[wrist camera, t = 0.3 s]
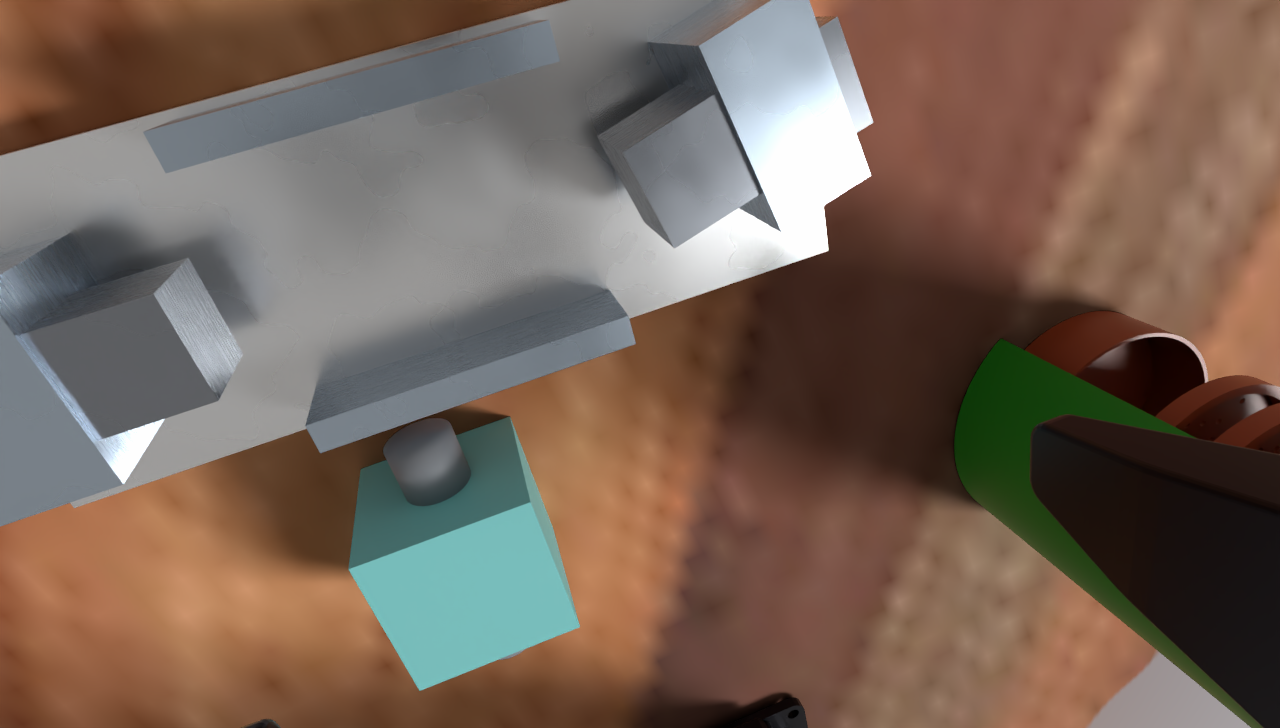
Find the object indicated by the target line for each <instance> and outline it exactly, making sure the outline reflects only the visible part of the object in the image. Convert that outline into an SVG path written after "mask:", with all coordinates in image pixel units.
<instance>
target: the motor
mask: <svg viewBox="0 0 1280 728" xmlns="http://www.w3.org/2000/svg"><path fill="white" fill-rule="evenodd" d="M1066 414H1070V415H1076V416H1082V417H1087V418H1092V419H1097V420H1103V421H1108V422H1113V423H1118V424H1123V425H1129V426H1134V427H1139V428H1144V429H1150V430H1155V431H1160V432H1165V433H1171V434H1176V435H1181V436H1186V437H1191V438H1197V439H1202V440H1207V441H1212V442H1218V443H1223V444H1228V445H1233V446H1239V447H1244V448H1249V449H1254V450H1260V451H1265V452H1270V453H1275V454H1280V388H1279V387H1277V386H1275V385H1272V384H1270V383H1267V382H1265V381H1262V380H1260V379H1257V378H1254V377H1250V376H1242V375H1235V376H1227V377H1222V378H1218V379H1215V380H1212V381H1209V382H1208V374H1207V369H1206V365H1205V362H1204V359H1203V357H1202V355H1201V354H1200V352H1199V351H1198V349H1197V348H1196V347H1195V346H1194V345H1193V344H1192V343H1190V342H1189V341H1188V340H1186V339H1184V338H1182V337H1180V336H1177V335H1175V334H1172V333H1170V332H1167V331H1165V330H1162V329H1159V328H1157V327H1154V326H1152V325H1149V324H1147V323H1144V322H1141V321H1139V320H1136V319H1134V318H1131V317H1129V316H1126V315H1123V314H1120V313H1117V312H1111V311H1094V312H1088V313H1084V314H1080V315H1077V316H1074V317H1072V318H1069V319H1067V320H1065V321H1063V322H1061V323H1059V324H1057V325H1055V326H1054V327H1052V328H1051V329H1049V330H1047V331H1046V332H1045V333H1043V334H1042V335H1041V336H1039V337H1038V338H1037V339H1036V340H1034V341H1033V342H1032V343H1031V344H1030V345H1029V346H1028V347H1027V348H1026V349H1025V350H1023V349H1021V348H1019V347H1017V346H1015V345H1013V344H1011V343H1009V342H1007V341H1005V340H1003V339H1000V340H999V341H998V342H997V343H996V345H995V346H994V347H993V348H992V350H991V351H990V352H989V354H988V355H987V357H986V358H985V359H984V361H983V362H982V364H981V366H980V367H979V369H978V370H977V372H976V374H975V376H974V378H973V379H972V381H971V384H970V386H969V388H968V390H967V392H966V395H965V397H964V400H963V402H962V405H961V408H960V412H959V415H958V420H957V424H956V431H955V440H954V452H955V462H956V467H957V471H958V474H959V477H960V479H961V481H962V483H963V485H964V487H965V489H966V490H967V492H968V493H969V494H970V495H971V496H972V498H973V499H975V500H976V501H977V502H978V503H979V504H980V505H981V506H983V507H984V508H985V509H986V510H988V511H989V512H990V513H991V514H992V515H994V516H995V517H996V518H997V519H998V520H1000V521H1001V522H1002V523H1003V524H1005V525H1006V526H1007V527H1008V528H1009V529H1011V530H1012V531H1013V532H1014V533H1015V534H1017V535H1018V536H1019V537H1020V538H1022V539H1023V540H1024V541H1025V542H1026V543H1028V544H1029V545H1030V546H1031V547H1032V548H1034V549H1035V550H1036V551H1037V552H1039V553H1040V554H1041V555H1042V556H1043V557H1045V558H1046V559H1047V560H1048V561H1049V562H1051V563H1052V564H1053V565H1054V566H1056V567H1057V568H1058V569H1059V570H1060V571H1062V572H1063V573H1064V574H1065V575H1066V576H1068V577H1069V578H1070V579H1071V580H1073V581H1074V582H1075V583H1076V584H1077V585H1079V586H1080V587H1081V588H1082V589H1083V590H1085V591H1086V592H1087V593H1088V594H1090V595H1091V596H1092V597H1093V598H1094V599H1096V600H1097V601H1098V602H1099V603H1100V604H1102V605H1103V606H1104V607H1105V608H1107V609H1108V610H1109V611H1110V612H1111V613H1113V614H1114V615H1115V616H1116V617H1118V618H1119V619H1120V620H1121V621H1122V622H1124V623H1125V624H1126V625H1127V626H1128V627H1130V628H1131V629H1132V630H1133V631H1135V632H1136V633H1137V634H1138V635H1139V636H1141V637H1142V638H1143V639H1144V640H1145V641H1147V642H1148V643H1149V644H1150V645H1152V646H1153V647H1154V648H1155V649H1156V650H1158V651H1159V652H1160V653H1161V654H1163V655H1164V656H1165V657H1166V658H1167V659H1169V660H1170V661H1171V662H1172V663H1173V664H1175V665H1176V666H1177V667H1178V668H1179V669H1181V670H1182V671H1183V672H1184V673H1186V674H1187V675H1188V676H1189V677H1190V678H1192V679H1193V680H1194V681H1195V682H1197V683H1198V684H1199V685H1200V686H1201V687H1203V688H1204V689H1205V690H1206V691H1207V692H1209V693H1210V694H1211V695H1212V696H1213V697H1215V698H1216V699H1217V700H1218V701H1220V702H1221V703H1222V704H1223V705H1224V706H1226V707H1227V708H1228V709H1229V710H1230V711H1232V712H1233V713H1234V714H1235V715H1237V716H1238V717H1239V718H1240V719H1241V720H1243V721H1244V722H1245V723H1246V724H1247V725H1249V726H1250V727H1251V728H1263V727H1262V726H1261V725H1260V724H1258V723H1257V722H1256V721H1255V720H1254V719H1253V718H1252V717H1251V716H1250V715H1249V714H1248V713H1247V712H1246V711H1245V710H1244V709H1243V708H1241V707H1240V706H1239V705H1238V704H1237V703H1236V702H1235V701H1234V700H1233V699H1232V698H1231V697H1230V696H1229V695H1228V694H1227V693H1226V692H1224V691H1223V690H1222V689H1221V688H1220V687H1219V686H1218V685H1217V684H1216V683H1215V682H1214V681H1213V680H1212V679H1211V678H1210V677H1209V676H1207V675H1206V674H1205V673H1204V672H1203V671H1202V670H1201V669H1200V668H1199V667H1198V666H1197V665H1196V664H1195V663H1194V662H1193V661H1192V660H1190V659H1189V658H1188V657H1187V656H1186V655H1185V654H1184V653H1183V652H1182V651H1181V650H1180V649H1179V648H1178V647H1177V646H1176V645H1175V644H1173V643H1172V642H1171V641H1170V640H1169V639H1168V638H1167V637H1166V636H1165V635H1164V634H1163V633H1162V632H1161V631H1160V630H1159V629H1157V628H1156V627H1155V626H1154V625H1153V624H1152V623H1151V622H1150V621H1149V620H1148V619H1147V618H1146V617H1145V616H1144V615H1143V614H1142V613H1141V612H1140V611H1139V610H1138V609H1137V608H1136V607H1135V606H1134V605H1133V604H1132V603H1131V602H1130V601H1128V600H1127V598H1126V597H1125V596H1124V595H1123V594H1122V593H1121V592H1120V591H1119V590H1118V589H1117V588H1116V587H1115V586H1114V585H1113V583H1112V582H1111V581H1110V580H1109V579H1108V578H1107V577H1106V576H1105V575H1104V573H1103V572H1102V571H1101V570H1100V569H1099V568H1098V567H1097V565H1096V564H1095V563H1094V562H1093V561H1092V560H1091V559H1090V558H1089V556H1088V555H1087V554H1086V553H1085V552H1084V551H1083V550H1082V548H1081V547H1080V546H1079V545H1078V544H1077V543H1076V542H1075V541H1074V539H1073V538H1072V537H1071V536H1070V535H1069V534H1068V533H1067V532H1066V530H1065V529H1064V528H1063V527H1062V526H1061V525H1060V524H1059V522H1058V521H1057V520H1056V519H1055V518H1054V517H1053V516H1052V515H1051V513H1050V512H1049V511H1048V510H1047V509H1046V508H1045V507H1044V505H1043V504H1042V503H1041V502H1040V501H1039V500H1038V498H1037V497H1036V495H1035V493H1034V492H1033V489H1032V487H1031V483H1030V440H1031V432H1032V430H1033V429H1034V427H1035V426H1036V425H1037V424H1039V423H1042V422H1044V421H1047V420H1050V419H1052V418H1055V417H1058V416H1060V415H1066Z"/></svg>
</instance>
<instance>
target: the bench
mask: <svg viewBox="0 0 1280 728" xmlns="http://www.w3.org/2000/svg"><path fill="white" fill-rule="evenodd" d="M872 123H873V120H872V117H871V114H870V111H869V108H868V105H867V102H866V99H865V96H864V93H863V91H862V88H861V85H860V82H859V79H858V76H857V73H856V70H855V67H854V64H853V61H852V58H851V55H850V52H849V49H848V46H847V43H846V40H845V37H844V34H843V31H842V28H841V25H840V23H839V20H838V17H837V16H836V17H815V15H814V13H813V10H812V7H811V4H810V1H809V0H566V1H562V2H559V3H555V4H551V5H548V6H544V7H540V8H537V9H533V10H529V11H526V12H522V13H518V14H515V15H511V16H507V17H504V18H500V19H496V20H493V21H489V22H485V23H482V24H478V25H474V26H471V27H467V28H463V29H460V30H456V31H452V32H449V33H445V34H441V35H438V36H434V37H430V38H427V39H423V40H419V41H416V42H412V43H408V44H405V45H401V46H397V47H394V48H390V49H386V50H383V51H379V52H375V53H372V54H368V55H364V56H361V57H357V58H353V59H350V60H346V61H342V62H339V63H335V64H331V65H328V66H324V67H320V68H317V69H313V70H309V71H306V72H302V73H298V74H295V75H291V76H287V77H284V78H280V79H276V80H273V81H269V82H265V83H262V84H258V85H255V86H251V87H247V88H244V89H240V90H236V91H233V92H229V93H225V94H222V95H218V96H214V97H211V98H207V99H203V100H200V101H196V102H192V103H189V104H185V105H181V106H178V107H174V108H170V109H167V110H163V111H159V112H156V113H152V114H148V115H145V116H141V117H137V118H134V119H130V120H126V121H123V122H119V123H115V124H112V125H108V126H104V127H101V128H97V129H93V130H90V131H86V132H82V133H79V134H75V135H71V136H68V137H64V138H60V139H57V140H53V141H49V142H46V143H42V144H38V145H35V146H31V147H27V148H24V149H20V150H16V151H13V152H9V153H5V154H2V155H0V526H3V525H6V524H9V523H12V522H15V521H18V520H21V519H23V518H26V517H29V516H32V515H35V514H38V513H41V512H44V511H47V510H50V509H53V508H56V507H59V506H62V505H65V504H68V503H71V505H72V506H73V507H74V508H76V507H79V506H82V505H84V504H87V503H90V502H93V501H96V500H99V499H102V498H105V497H108V496H111V495H114V494H117V493H120V492H123V491H126V490H128V489H131V488H134V487H137V486H140V485H143V484H146V483H149V482H152V481H155V480H158V479H161V478H164V477H167V476H169V475H172V474H175V473H178V472H181V471H184V470H187V469H190V468H193V467H196V466H199V465H202V464H205V463H208V462H211V461H213V460H216V459H219V458H222V457H225V456H228V455H231V454H234V453H237V452H240V451H243V450H246V449H249V448H252V447H255V446H257V445H260V444H263V443H266V442H269V441H272V440H275V439H278V438H281V437H284V436H287V435H290V434H293V433H296V432H298V431H301V430H304V429H307V430H308V432H309V434H310V436H311V437H312V439H313V441H314V443H315V445H316V446H317V448H318V450H319V452H320V453H323V452H326V451H328V450H331V449H334V448H337V447H340V446H343V445H346V444H349V443H352V442H354V441H357V440H360V439H363V438H366V437H369V436H372V435H375V434H378V433H380V432H383V431H386V430H389V429H392V428H395V427H398V426H401V425H403V424H406V423H409V422H412V421H415V420H418V419H421V418H424V417H427V416H429V415H432V414H435V413H438V412H441V411H444V410H447V409H450V408H452V407H455V406H458V405H461V404H464V403H467V402H470V401H473V400H476V399H478V398H481V397H484V396H487V395H490V394H493V393H496V392H499V391H502V390H504V389H507V388H510V387H513V386H516V385H519V384H522V383H525V382H527V381H530V380H533V379H536V378H539V377H542V376H545V375H548V374H551V373H553V372H556V371H559V370H562V369H565V368H568V367H571V366H574V365H576V364H579V363H582V362H585V361H588V360H591V359H594V358H597V357H600V356H602V355H605V354H608V353H611V352H614V351H617V350H620V349H623V348H626V347H628V346H631V345H634V344H636V342H635V339H634V335H633V331H632V327H631V324H630V320H629V319H630V318H633V317H636V316H638V315H641V314H644V313H647V312H650V311H653V310H656V309H659V308H662V307H665V306H668V305H671V304H674V303H677V302H680V301H682V300H685V299H688V298H691V297H694V296H697V295H700V294H703V293H706V292H709V291H712V290H715V289H718V288H721V287H724V286H726V285H729V284H732V283H735V282H738V281H741V280H744V279H747V278H750V277H753V276H756V275H759V274H762V273H765V272H767V271H770V270H773V269H776V268H779V267H782V266H785V265H788V264H791V263H794V262H797V261H800V260H803V259H806V258H809V257H811V256H814V255H817V254H820V253H823V252H826V251H829V249H828V240H827V231H826V223H825V214H824V205H825V204H827V203H828V202H830V201H832V200H833V199H835V198H836V197H838V196H839V195H841V194H843V193H844V192H846V191H847V190H849V189H850V188H852V187H854V186H855V185H857V184H858V183H860V182H861V181H863V180H865V179H866V178H868V177H869V176H871V174H870V171H869V168H868V165H867V162H866V160H865V157H864V154H863V151H862V148H861V145H860V143H859V140H858V137H857V134H856V133H857V132H859V131H860V130H862V129H864V128H865V127H867V126H868V125H870V124H872Z"/></svg>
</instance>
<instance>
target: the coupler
mask: <svg viewBox="0 0 1280 728" xmlns="http://www.w3.org/2000/svg"><path fill="white" fill-rule="evenodd" d="M383 453H384V456H385V458H386V460H385V461H382V462H379V463H376V464H373V465H371V466H368V467H365V468H362V469H361V471H360V479H359V487H358V495H357V504H356V512H355V520H354V528H353V537H352V545H351V553H350V561H349V571H350V573H351V575H352V576H353V578H354V580H355V581H356V583H357V585H358V587H359V588H360V590H361V592H362V593H363V595H364V597H365V599H366V600H367V602H368V604H369V605H370V607H371V609H372V610H373V612H374V614H375V616H376V617H377V619H378V621H379V622H380V624H381V626H382V628H383V629H384V631H385V633H386V634H387V636H388V638H389V639H390V641H391V643H392V645H393V646H394V648H395V650H396V651H397V653H398V655H399V657H400V658H401V660H402V662H403V663H404V665H405V667H406V669H407V670H408V672H409V674H410V675H411V677H412V679H413V680H414V682H415V684H416V686H417V687H418V689H419V691H421V690H423V689H426V688H428V687H431V686H433V685H436V684H438V683H441V682H443V681H446V680H448V679H451V678H453V677H456V676H458V675H461V674H463V673H466V672H468V671H471V670H473V669H476V668H478V667H481V666H483V665H486V664H488V663H491V662H493V661H496V660H502V659H508V658H511V657H514V656H516V655H518V654H519V653H521V652H522V651H524V650H525V649H526V648H529V647H531V646H534V645H536V644H539V643H541V642H544V641H546V640H549V639H551V638H554V637H556V636H559V635H561V634H564V633H566V632H569V631H571V630H574V629H576V628H579V627H580V625H579V621H578V618H577V614H576V610H575V607H574V603H573V600H572V596H571V592H570V589H569V585H568V581H567V578H566V574H565V570H564V567H563V563H562V559H561V556H560V552H559V548H558V545H557V541H556V537H555V534H554V530H553V527H552V524H551V522H550V519H549V517H548V514H547V511H546V509H545V506H544V504H543V501H542V498H541V496H540V493H539V491H538V488H537V485H536V483H535V480H534V478H533V475H532V472H531V470H530V467H529V465H528V462H527V459H526V457H525V454H524V452H523V449H522V446H521V444H520V441H519V439H518V436H517V433H516V431H515V428H514V426H513V423H512V420H511V418H510V417H507V418H504V419H501V420H498V421H495V422H492V423H490V424H487V425H484V426H481V427H478V428H475V429H473V430H470V431H467V432H464V433H461V434H458V435H455V433H454V430H453V428H452V426H451V424H450V422H449V421H448V420H446V419H442V418H429V419H424V420H421V421H417V422H415V423H412V424H410V425H408V426H406V427H404V428H402V429H401V430H399V431H398V432H396V433H395V434H394V435H393V436H392V437H391V438H390V439H389V440H388V441H387V442H386V444H385V446H384V448H383Z"/></svg>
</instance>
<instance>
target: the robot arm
mask: <svg viewBox="0 0 1280 728" xmlns="http://www.w3.org/2000/svg"><path fill="white" fill-rule="evenodd" d="M1030 483H1031V487H1032V489H1033V492H1034V493H1035V495H1036V497H1037V498H1038V500H1039V501H1040V502H1041V503H1042V504H1043V505H1044V507H1045V508H1046V509H1047V510H1048V511H1049V512H1050V513H1051V515H1052V516H1053V517H1054V518H1055V519H1056V520H1057V521H1058V522H1059V524H1060V525H1061V526H1062V527H1063V528H1064V529H1065V530H1066V532H1067V533H1068V534H1069V535H1070V536H1071V537H1072V538H1073V539H1074V541H1075V542H1076V543H1077V544H1078V545H1079V546H1080V547H1081V548H1082V550H1083V551H1084V552H1085V553H1086V554H1087V555H1088V556H1089V558H1090V559H1091V560H1092V561H1093V562H1094V563H1095V564H1096V565H1097V567H1098V568H1099V569H1100V570H1101V571H1102V572H1103V573H1104V575H1105V576H1106V577H1107V578H1108V579H1109V580H1110V581H1111V582H1112V583H1113V585H1114V586H1115V587H1116V588H1117V589H1118V590H1119V591H1120V592H1121V593H1122V594H1123V595H1124V596H1125V597H1126V598H1127V600H1128V601H1130V602H1131V603H1132V604H1133V605H1134V606H1135V607H1136V608H1137V609H1138V610H1139V611H1140V612H1141V613H1142V614H1143V615H1144V616H1145V617H1146V618H1147V619H1148V620H1149V621H1150V622H1151V623H1152V624H1153V625H1154V626H1155V627H1156V628H1157V629H1159V630H1160V631H1161V632H1162V633H1163V634H1164V635H1165V636H1166V637H1167V638H1168V639H1169V640H1170V641H1171V642H1172V643H1173V644H1175V645H1176V646H1177V647H1178V648H1179V649H1180V650H1181V651H1182V652H1183V653H1184V654H1185V655H1186V656H1187V657H1188V658H1189V659H1190V660H1192V661H1193V662H1194V663H1195V664H1196V665H1197V666H1198V667H1199V668H1200V669H1201V670H1202V671H1203V672H1204V673H1205V674H1206V675H1207V676H1209V677H1210V678H1211V679H1212V680H1213V681H1214V682H1215V683H1216V684H1217V685H1218V686H1219V687H1220V688H1221V689H1222V690H1223V691H1224V692H1226V693H1227V694H1228V695H1229V696H1230V697H1231V698H1232V699H1233V700H1234V701H1235V702H1236V703H1237V704H1238V705H1239V706H1240V707H1241V708H1243V709H1244V710H1245V711H1246V712H1247V713H1248V714H1249V715H1250V716H1251V717H1252V718H1253V719H1254V720H1255V721H1256V722H1257V723H1258V724H1260V725H1261V726H1262V727H1263V728H1280V454H1275V453H1270V452H1265V451H1260V450H1254V449H1249V448H1244V447H1239V446H1233V445H1228V444H1223V443H1218V442H1212V441H1207V440H1202V439H1197V438H1191V437H1186V436H1181V435H1176V434H1171V433H1165V432H1160V431H1155V430H1150V429H1144V428H1139V427H1134V426H1129V425H1123V424H1118V423H1113V422H1108V421H1103V420H1097V419H1092V418H1087V417H1082V416H1076V415H1070V414H1066V415H1060V416H1058V417H1055V418H1052V419H1050V420H1047V421H1044V422H1042V423H1039V424H1037V425H1036V426H1035V427H1034V429H1033V430H1032V432H1031V440H1030ZM241 728H280V726H279V725H278V724H277V723H276V722H275V721H273V720H271V719H263V720H260V721H257V722H254V723H252V724H249V725H247V726H244V727H241ZM721 728H808V726H807V721H806V716H805V711H804V708H803V706H802V705H801V703H800V701H799V699H797V698H789V699H786V700H784V701H781V702H779V703H777V704H774V705H772V706H770V707H767V708H765V709H763V710H760V711H758V712H756V713H754V714H751V715H749V716H747V717H744V718H742V719H740V720H737V721H735V722H733V723H730V724H728V725H726V726H723V727H721Z"/></svg>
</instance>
